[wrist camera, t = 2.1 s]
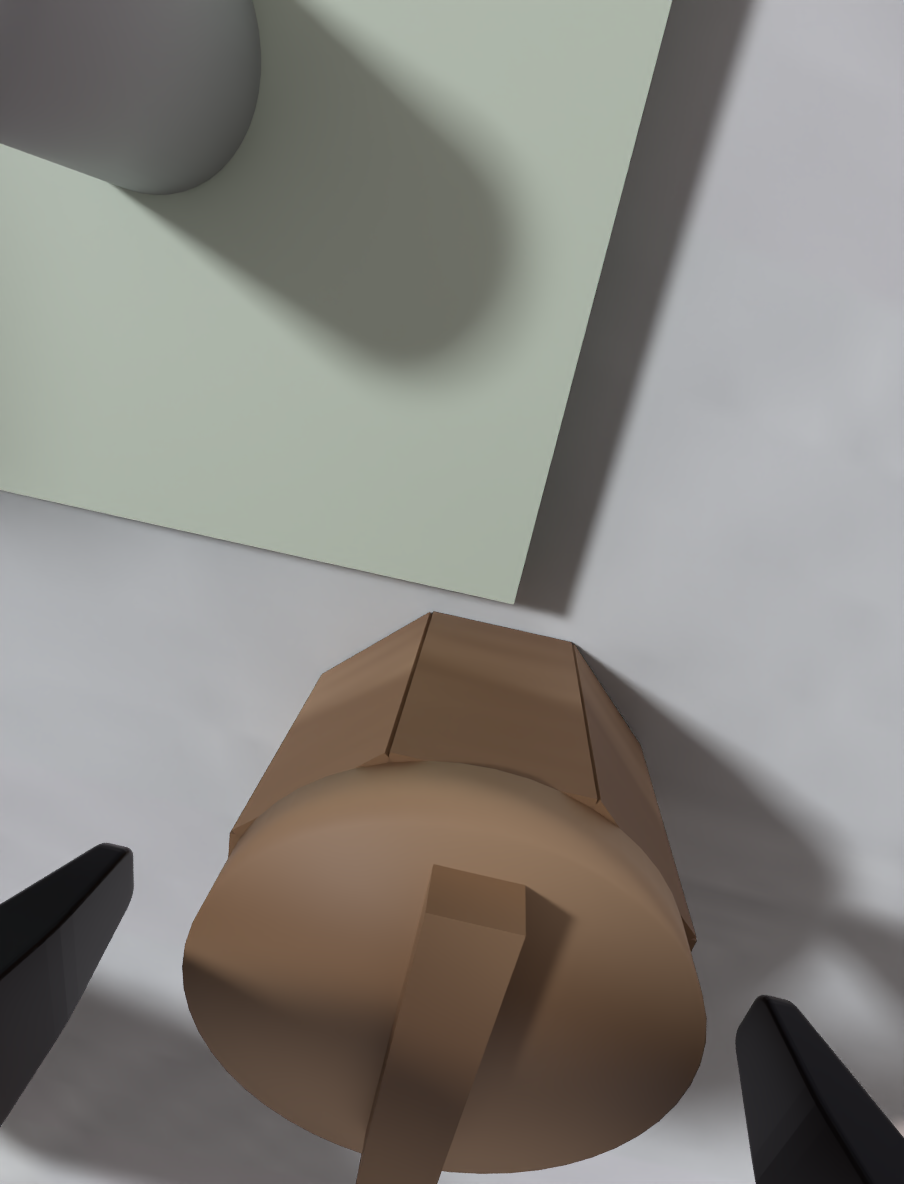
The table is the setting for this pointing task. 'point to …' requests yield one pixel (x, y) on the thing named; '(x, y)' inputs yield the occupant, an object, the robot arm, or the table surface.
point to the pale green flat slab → (309, 263)
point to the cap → (453, 916)
